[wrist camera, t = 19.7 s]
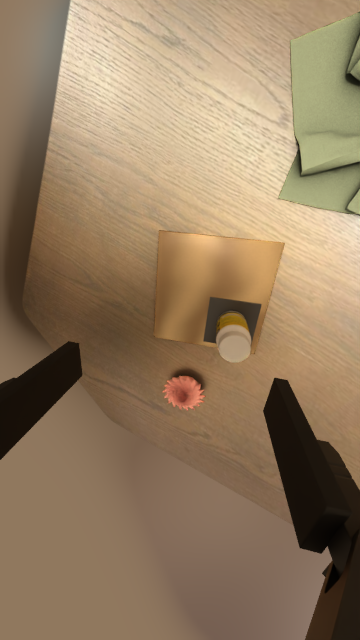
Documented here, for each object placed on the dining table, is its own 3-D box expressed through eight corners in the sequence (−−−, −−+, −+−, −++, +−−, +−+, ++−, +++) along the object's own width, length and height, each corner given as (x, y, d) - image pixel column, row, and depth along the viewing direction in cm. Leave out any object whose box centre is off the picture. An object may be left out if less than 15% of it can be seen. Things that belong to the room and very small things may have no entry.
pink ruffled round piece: (171, 398, 43) (165, 419, 38) (163, 365, 40) (155, 384, 35) (209, 396, 41) (208, 419, 36) (203, 362, 38) (200, 381, 33)
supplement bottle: (214, 312, 33) (212, 335, 26) (244, 307, 32) (251, 329, 24) (219, 339, 35) (219, 367, 27) (248, 334, 34) (256, 363, 26)
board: (154, 335, 38) (153, 337, 37) (160, 230, 31) (158, 230, 30) (253, 352, 36) (254, 355, 35) (283, 242, 29) (285, 242, 28)
